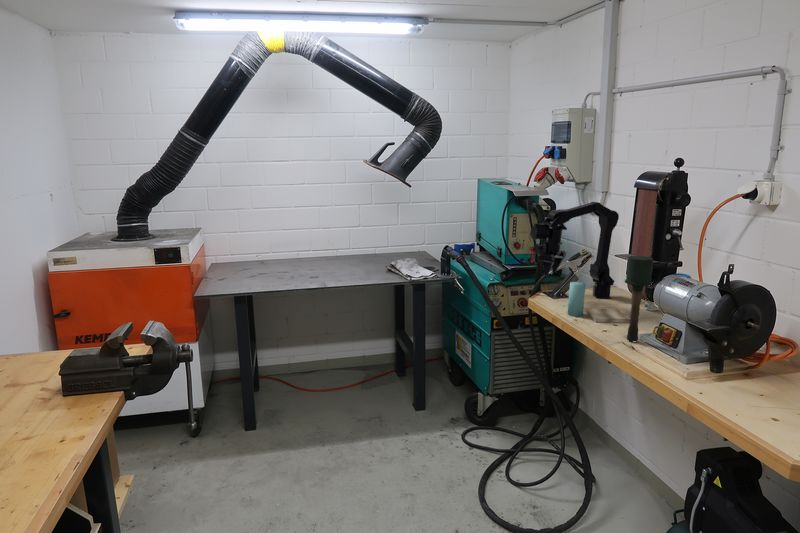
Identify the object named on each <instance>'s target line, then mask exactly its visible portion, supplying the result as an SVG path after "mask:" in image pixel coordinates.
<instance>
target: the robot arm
mask: <svg viewBox="0 0 800 533" xmlns="http://www.w3.org/2000/svg"><path fill="white" fill-rule="evenodd" d="M592 213H593V214H594V215H595V216H597V217H598V224H599V227H600V233H599V240H598V246H597V251H596V258H595V261H594V262H593V263H590V264H589V270H588V273H589V276H590V278H591V279H592V282H593V283H594V285H593V287H592V294H591V295H592V296H593V297H595V298H596V299H612V296H611V286H614V283H615V280H614V278H612V277H611V276H610V270H611V269H610V266H609V263H608V262H609V261H608V260H609V254H610V247H611V244H612V243H611V242H612V236H613V231H614V229H615V227H616V226H617V225H618V221H619V216H620V214H619V213H618V212H617V211H616V210H612V209H610V208H608V207H606V206H604V205H603V204H601V203H600V202H598V201H591V202H589V203H585V204H581V205H577V206H575V207H571V208H566V209H562V208H561V209H553V210H550V211H549V213H548V215H547V217H546V218H545V219H544V220H543V222H542V223H536V222H535V223H533V226H531V229H530V238H531V239H533V240H546V239H547V240H546V241H545V242H544V244H539V243H536V244H533V246H532V249H531V250H532V251H533V253H534V254H535V255H536V254H538V255H537V260H538V261H539V262H540V263H541V264H542V267H543V272H544V276H545V277H548V276H549V273H550V272H551V270H552V272H551V273H553V274H556V272H557V270H558V269H559V267H560V266H561V264H562V263H563V261H564V259H565V258H566V257H567V252H566V251H565V250H563V249H561V246H562V245H563V241H562V235H563V234H562V233H563V231H564V230H565V231H567V230H568V228H567V227H566V226H565V224H566V223H568V222H569V221H570V220H572V219H574V218H578V217H581V216H585V215H587V214H592Z"/></svg>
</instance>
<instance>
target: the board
mask: <svg viewBox="0 0 800 533" xmlns="http://www.w3.org/2000/svg"><path fill="white" fill-rule="evenodd" d="M584 313H585V314H586V315H587V316H588V317H590V318H591V320H593V321H594V322H595V323H630V317H628V316H626V315H625V314H624V313H623V312H622V311H620V310H619V309H618V308H584Z"/></svg>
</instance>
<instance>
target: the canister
mask: <svg viewBox="0 0 800 533" xmlns="http://www.w3.org/2000/svg"><path fill="white" fill-rule="evenodd" d="M585 294H586V283H585V282H582V281H581V282H580V281H571V282H570V283H569V290H568V304H567V315H568V316H569V317H574V318H581V317H583V316H584V310H585V308H584V307H585V306H584V305H585V297H586V296H585Z"/></svg>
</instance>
